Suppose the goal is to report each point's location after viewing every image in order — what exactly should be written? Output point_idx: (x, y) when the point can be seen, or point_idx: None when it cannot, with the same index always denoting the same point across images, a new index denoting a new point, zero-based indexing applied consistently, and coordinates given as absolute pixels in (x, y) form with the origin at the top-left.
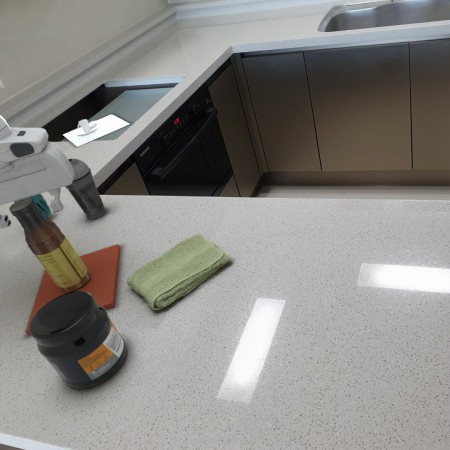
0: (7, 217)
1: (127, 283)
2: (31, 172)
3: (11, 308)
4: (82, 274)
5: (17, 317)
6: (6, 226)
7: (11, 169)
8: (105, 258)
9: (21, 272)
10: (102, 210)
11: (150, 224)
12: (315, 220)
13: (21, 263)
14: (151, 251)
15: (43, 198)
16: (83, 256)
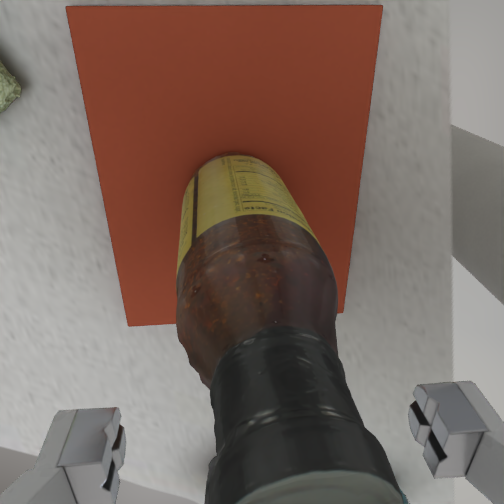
0: (427, 452)
1: (12, 82)
2: None
3: (434, 182)
4: (188, 186)
5: (415, 128)
6: (434, 385)
7: None
8: (156, 275)
9: (412, 326)
10: (210, 472)
11: (54, 380)
12: None
13: (413, 360)
14: (10, 258)
15: None
16: None
